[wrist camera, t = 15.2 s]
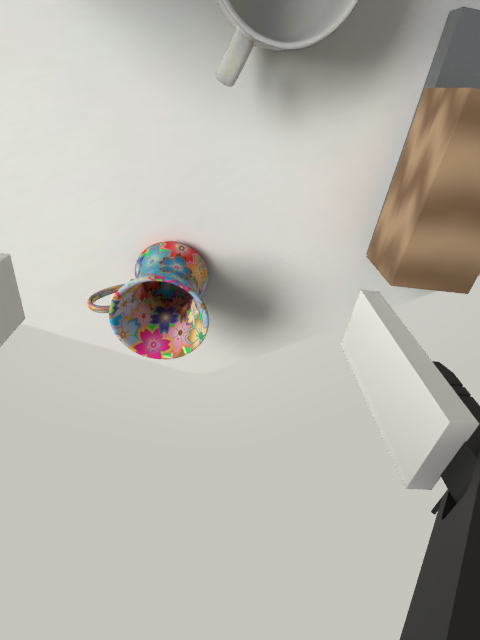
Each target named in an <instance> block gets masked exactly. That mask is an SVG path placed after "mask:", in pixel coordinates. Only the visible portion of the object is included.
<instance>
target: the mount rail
mask: <svg viewBox="0 0 480 640" xmlns="http://www.w3.org/2000/svg"><path fill="white" fill-rule="evenodd" d="M425 88H476V89H480V10H477V9H471V8H466V7H461V8H459V9H456V10H453V11H450V12H449V15H448V18H447V21H446V24H445V27H444V30H443V33H442V36H441V39H440V42H439V44H438V47H437V50H436V53H435V56H434V59H433V62H432V65H431V68H430V71H429V74H428V76H427V79H426V82H425V85H424V88H423V91H422V94H421V97H420V100H419V103H418V105H417V108H416V111H415V114H414V117H413V120H412V123H411V126H410V129H409V132H408V135H407V137H406V140H405V143H404V146H403V149H402V152H401V155H400V158H399V161H398V164H397V167H398V165H399V162H400V159H401V156H402V153H403V150H404V147H405V144H406V142H407V139H408V136H409V133H410V130H411V127H412V124H413V121H414V119H415V116H416V113H417V110H418V107H419V104H420V101H421V98H422V96H423V93H424V90H425ZM397 167H396V169H395V172H394V175H393V178H392V181H391V184H390V187H389V190H390V188H391V185H392V182H393V179H394V176H395V173H396V170H397ZM389 190H388V193H389ZM388 193H387V196H388ZM387 196H386V198H385V201H384V204H383V207H382V210H383V208H384V205H385V202H386V199H387ZM382 210H381V213H382ZM381 213H380V216H381ZM380 216H379V219H380ZM379 219H378V222H379ZM378 222H377V225H378ZM377 225H376V228H377ZM376 228H375V230H374V233H375V231H376ZM374 233H373V236H374ZM373 236H372V239H373ZM372 239H371V242H372ZM371 242H370V245H371ZM370 245H369V248H370ZM369 248H368V251H369ZM368 251H367V254H368Z"/></svg>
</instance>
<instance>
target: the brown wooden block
mask: <svg viewBox="0 0 480 640" xmlns="http://www.w3.org/2000/svg"><path fill="white" fill-rule="evenodd" d="M366 257H367V258H368V259H369V260H370V261H371V263H372V264H373V265H374V266H375V267H376V269H377V270H378V271H379V272H380V273H381V275H382V276H383V277H384V278H385V279H386V280H387V282H388V283H389V284H390V285H391V286H399V287H408V288H418V289H427V290H437V291H446V292H456V293H465V294H468V293H469V291H470V289H471V287H472V286H473V284H474V282H475V280H476V278H477V277H478V275H479V273H480V89H476V88H425V90H424V93H423V96H422V98H421V101H420V104H419V107H418V110H417V113H416V116H415V119H414V121H413V124H412V127H411V130H410V133H409V136H408V139H407V142H406V144H405V147H404V150H403V153H402V156H401V159H400V162H399V165H398V167H397V170H396V173H395V176H394V179H393V182H392V185H391V188H390V190H389V193H388V196H387V199H386V202H385V205H384V208H383V210H382V213H381V216H380V219H379V222H378V225H377V228H376V231H375V233H374V236H373V239H372V242H371V245H370V248H369V251H368V254H367V256H366Z"/></svg>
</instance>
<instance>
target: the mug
mask: <svg viewBox="0 0 480 640" xmlns="http://www.w3.org/2000/svg"><path fill="white" fill-rule="evenodd" d="M135 277H136V279H131V280H130V282H128V283H127V284H122V285H117V286H113V287H109V288H106V289H104V290H101V291H99V292H97V293H95V294H93V295H92V296H91V297H90V298H89V299H88V307H89V308H90V309H91V310H92V311H95V312H99V313H109V319H110V323H111V327H112V329H113V331H114V333H115V335H116V336H117V337H118V339H119V340H120V341H121V342H122V343H123V344H124V345H125V346H126V347H128V348H129V349H131V350H132V351H134V352H136V353H138V354H140V355H143V356H146V357H149V358H154V359H173V358H178V357H181V356H184V355H186V354H188V353H190V352H192V351H193V350H194V349H196V348H197V347H198V346H199V345H200V344H201V343H202V341H203V340H204V338H205V336H206V334H207V331H208V326H209V316H208V311H207V309H206V306H205V304H204V302H203V301H202V299H201V298H200V297H201V296H202V295H203V293H204V292H205V290H206V288H207V285H208V270H207V267H206V264H205V262H204V261H203V259H202V258H201V256H200V255H199V254H198V253H197V252H196V251H195V250H193V249H192V248H190V247H189V246H187V245H184V244H181V243H178V242H170V241H167V242H160V243H156V244H154V245H152V246H150V247H148V248H147V249H146V250H144V251H143V252H142V254H141V255H140V256H139V258H138V260H137V263H136V267H135ZM116 292H117V293H116ZM112 293H116V294H115V295H114V297H113V299H112V301H111V304H110V306H98V305H95V304H93V303H94V302H95V301H96V300H98V299H100V298H102V297H104V296H106V295H109V294H112Z"/></svg>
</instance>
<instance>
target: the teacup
mask: <svg viewBox="0 0 480 640" xmlns="http://www.w3.org/2000/svg"><path fill="white" fill-rule="evenodd" d="M358 1H359V0H217V2H218V4H219V7H220V9H221V11H222V13H223V14H224V16H225V18H226V19H227V21H228V22H229V24H230V25H231V26H232V27H233V28H234V30H235V33H234V35H233V37H232V40H231V42H230V44H229V46H228V48H227V50H226V52H225V54H224V56H223V58H222V61H221V63H220V65H219V67H218V69H217V71H216V77H217V79H218V80H219V81H220V82H221V83H223V84H224V85H226V86H233V85H234V83H235V82H236V80H237V78H238V76H239V74H240V72H241V70H242V68H243V66H244V64H245V62H246V60H247V58H248V56H249V54H250V52H251V50H252V47H253V45H255V46H258V47H261V48H264V49H268V50H296V49H302V48H306V47H309V46H312V45H314V44H316V43H318V42H319V41H321V40H323V39H324V38H326V37H328V36H329V35H330V34H331V33H333V32H334V31H335V30H336V29H337V28H338V27H339V26H340V25H341V24H342V23H343V22H344V21H345V19H346V18H347V17H348V16H349V14H350V13H351V12H352V10H353V9H354V7H355V6H356V4H357V3H358Z"/></svg>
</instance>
